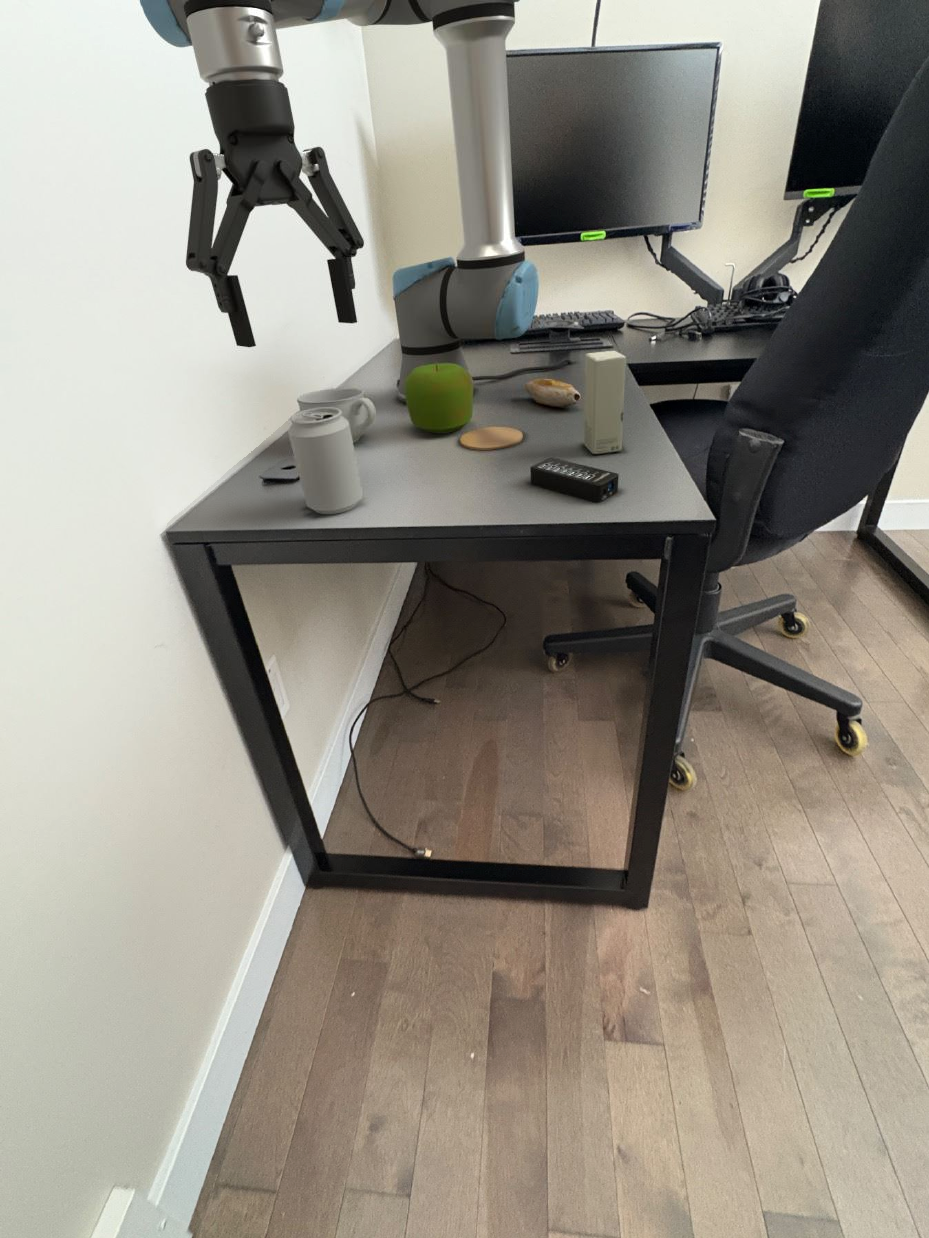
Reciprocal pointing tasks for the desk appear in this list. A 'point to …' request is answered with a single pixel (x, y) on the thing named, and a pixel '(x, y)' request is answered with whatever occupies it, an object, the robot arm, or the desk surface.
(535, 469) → the multiport hub
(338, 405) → the teacup
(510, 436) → the coaster
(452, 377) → the apple
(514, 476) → the desk surface
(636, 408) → the desk surface
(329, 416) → the can
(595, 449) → the box
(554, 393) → the beige elongated hollow pod
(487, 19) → the robot arm
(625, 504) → the desk surface
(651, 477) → the desk surface
